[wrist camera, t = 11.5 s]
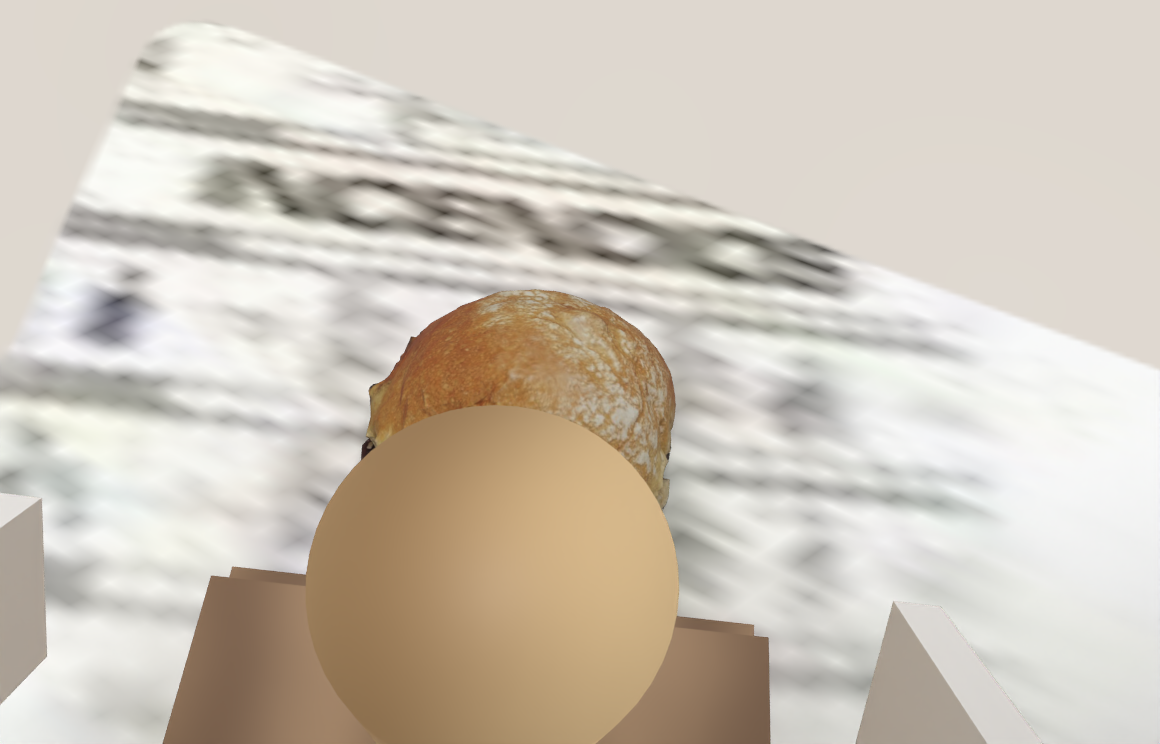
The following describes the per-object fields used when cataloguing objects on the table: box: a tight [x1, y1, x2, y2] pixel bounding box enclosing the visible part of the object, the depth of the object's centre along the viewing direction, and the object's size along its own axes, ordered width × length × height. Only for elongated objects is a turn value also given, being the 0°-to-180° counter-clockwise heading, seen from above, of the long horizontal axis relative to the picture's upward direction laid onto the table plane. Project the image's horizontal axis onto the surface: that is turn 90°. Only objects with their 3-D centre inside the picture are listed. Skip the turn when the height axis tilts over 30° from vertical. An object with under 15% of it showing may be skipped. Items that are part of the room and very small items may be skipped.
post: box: [305, 405, 679, 744], centre depth 16 cm, size 4×4×12 cm
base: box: [163, 567, 770, 744], centre depth 24 cm, size 16×8×6 cm, turn 85°
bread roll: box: [361, 289, 676, 509], centre depth 29 cm, size 10×10×8 cm
